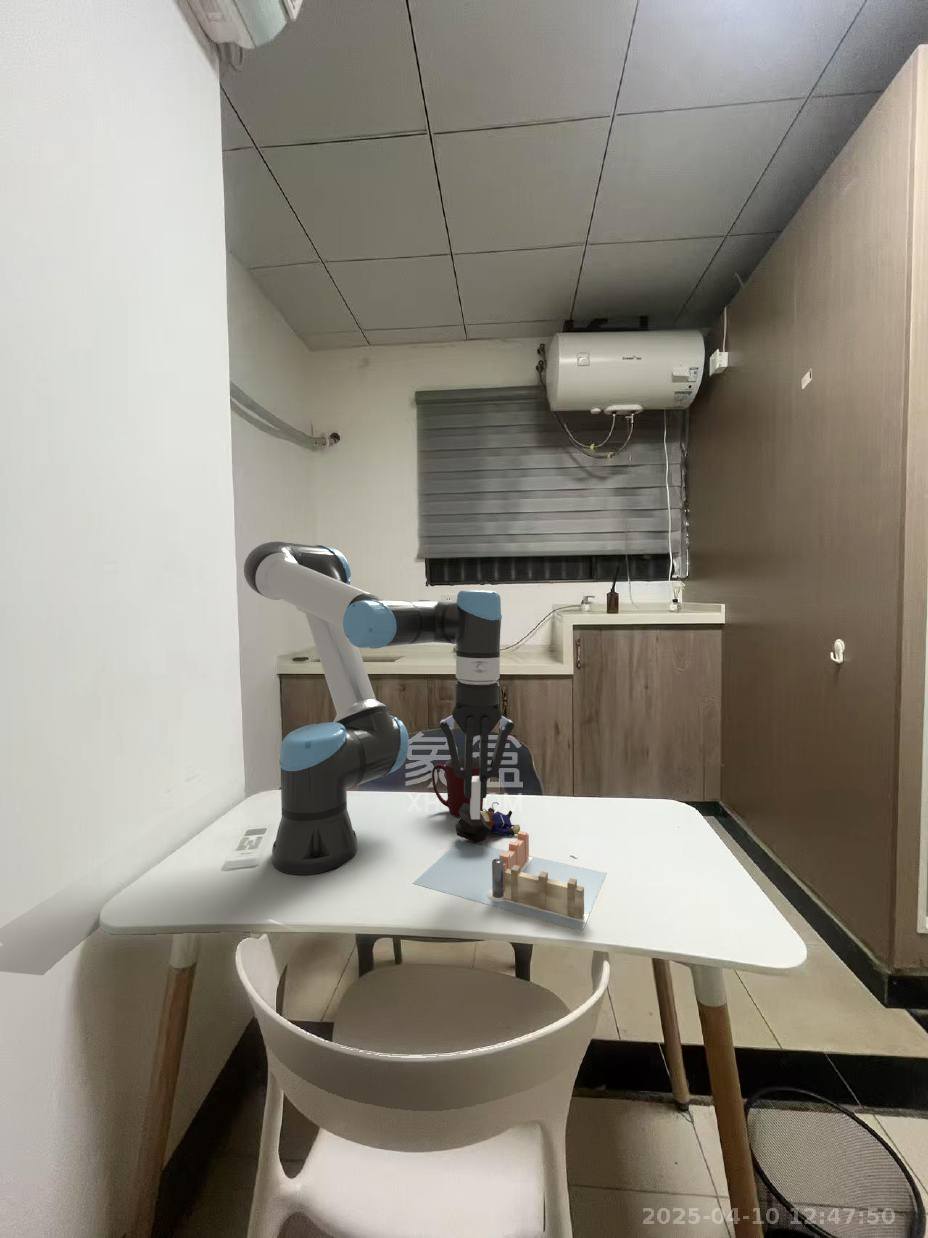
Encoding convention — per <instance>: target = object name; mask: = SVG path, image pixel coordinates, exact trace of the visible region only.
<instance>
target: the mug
mask: <svg viewBox="0 0 928 1238" xmlns="http://www.w3.org/2000/svg"><path fill="white" fill-rule="evenodd" d="M458 758H459V762H460V766H461V768H464V763H465V756H458ZM444 764H445V765H444ZM444 764H443V763H437V764H435V765H434V766H433V768H432V771H431V781H432V783H431V784H432V787H433V791H434V793H435V795H436V798H437V799H438V800H439V802H440V803H441V804H442V805H444V806H445V807H446V808H447V809H448V812H449V814H450V815H451V816H452V817H455V818H459V819H460V815H459V813H458V811H459V809H460V808H461V806H462V805H463V803H466V804H468V805H470V798H465V795H464V779H463V778H461V777H456V776H455V774H454V769H453V765H452V760H451V758H450V759H448V760H446V761H445V763H444ZM436 769H441V770H443V772H444V773H445V780H446V790H447V791H446V793H447V798H446V799H444V798H443V797H442V795H441V794H440V792H439V790H438V787H437V784H436V777H435V772H436ZM472 776H479V757H474V756H473V763H472ZM483 806H484V798H480V809H484V808H483Z"/></svg>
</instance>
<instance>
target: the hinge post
mask: <svg viewBox="0 0 928 1238" xmlns="http://www.w3.org/2000/svg"><path fill="white" fill-rule="evenodd" d="M492 895H493V897H495V898H501V897H503V896H504V862H503V860H501V859H494V860H492Z"/></svg>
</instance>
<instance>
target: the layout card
mask: <svg viewBox="0 0 928 1238" xmlns="http://www.w3.org/2000/svg"><path fill="white" fill-rule="evenodd" d="M507 851H508V850H505V849H501V848H496V847H492V846H488V845H483V844H479V843H473V842H471V841H466V840H461V839H459V841H457V842H456V843H455V844H454V845H452V847H451V848H450V849H448V851H446V852H445V853H444V854H443V855H441V857H440V858H438V859H437V860H436V861H435V862H434V863H433V864H432V865H431V866H430V867H428V869H426V870H425V871H424V872H423V873H422V874H421V875H420V876H419V877H418V878H416V880H414V881H413V882H412V884H413V885H417V886H421V887H424V888H426V889H427V888H428V889H430V890H435V891H438V892H440V893H445V894H449V895H452V896H455V897H459V898H463V899H467V900H470V901H473V902H477V903H480V904H484V905H488V906H491V907H493V908H498V909H503V910H506V911H508V912H513V913H516V914H519V915H524V916H527V917H531V918H533V919H538V920H541V921H545V922H547V923H551V924H552V923H553V924H556V925H559V926H562V927H566V928H569V929H573V930H577V931H580V932H583V930H584V928H585V926H586V924H587V921H588V919H589V916H590V914H591V912H592V909H593V907H594V905H595V902H596V899H597V898H598V895H599V893H600V890H601V889H602V885H603V883H604V881H605V878H606V876H607V872H604V871H599V870H595V869H591V868H586V867H582V866H577V865H573V864H568V863H565V862H564V863H563V862H559V861H554V860H550V859H545V858H541V857H537V856H532V855H529V857H528V860H527V861H526V862H524V864H523V865H522V867H521V868H520V869H521V872H523V873H527V874H532V875H536V876H539V874H540V873H541V871H543V872H547V873H548V879H552V880H557V881H561V882H565V883H568V881H569V879H570V878H573V879H577V886H581V887H584V916H583V918H582V919H581V918H578V917H572V916H568V915H567V914H563V913H559V912H555V911H552V910H548V909H542V908H539V907H537V906H533V905H529V904H526V903H522V902H516V901H512V900H511V899H507V898H505V890H504V896H503V897H501V898H495V897H493V895H492V860H494V859H499V855H500V854H501V853H505V854H506V853H507Z"/></svg>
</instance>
